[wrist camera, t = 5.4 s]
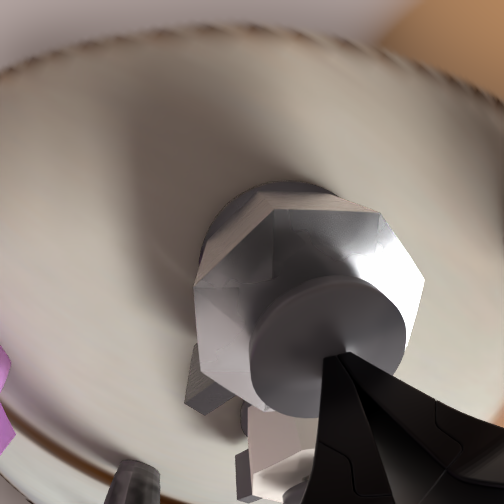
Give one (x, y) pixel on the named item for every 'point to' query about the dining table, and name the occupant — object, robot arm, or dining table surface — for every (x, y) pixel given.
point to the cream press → (273, 453)
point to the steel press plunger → (321, 339)
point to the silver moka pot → (282, 274)
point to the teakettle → (3, 431)
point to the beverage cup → (134, 484)
